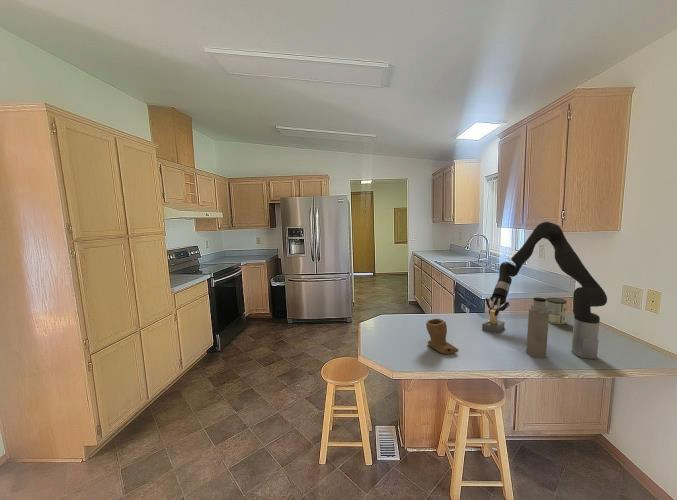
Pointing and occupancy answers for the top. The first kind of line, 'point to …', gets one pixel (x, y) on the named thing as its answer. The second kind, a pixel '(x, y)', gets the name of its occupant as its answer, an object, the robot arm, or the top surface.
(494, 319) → the tall tan rectangular block
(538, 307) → the thermos bottle
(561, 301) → the coffee can
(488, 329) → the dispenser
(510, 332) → the top surface
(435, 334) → the brown boot-shaped pot
